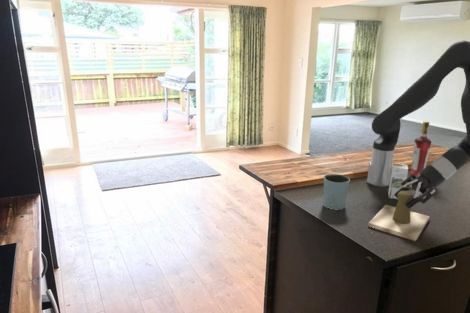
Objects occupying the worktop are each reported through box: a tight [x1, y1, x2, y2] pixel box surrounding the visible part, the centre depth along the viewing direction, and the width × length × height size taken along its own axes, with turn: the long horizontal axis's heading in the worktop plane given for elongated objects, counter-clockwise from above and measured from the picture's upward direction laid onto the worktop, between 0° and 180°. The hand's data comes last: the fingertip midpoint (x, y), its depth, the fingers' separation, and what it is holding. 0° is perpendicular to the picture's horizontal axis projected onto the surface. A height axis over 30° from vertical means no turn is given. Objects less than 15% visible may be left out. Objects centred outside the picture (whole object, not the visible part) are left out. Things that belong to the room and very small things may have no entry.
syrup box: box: [387, 162, 409, 201], centre depth 155 cm, size 6×6×14 cm
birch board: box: [367, 204, 430, 242], centre depth 134 cm, size 16×20×2 cm
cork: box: [393, 191, 414, 224], centre depth 132 cm, size 6×6×11 cm
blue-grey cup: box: [322, 173, 351, 210], centre depth 146 cm, size 10×10×12 cm
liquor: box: [409, 121, 432, 177], centre depth 177 cm, size 7×7×28 cm
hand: (401, 201), depth 131 cm, fingers open, 8 cm apart
